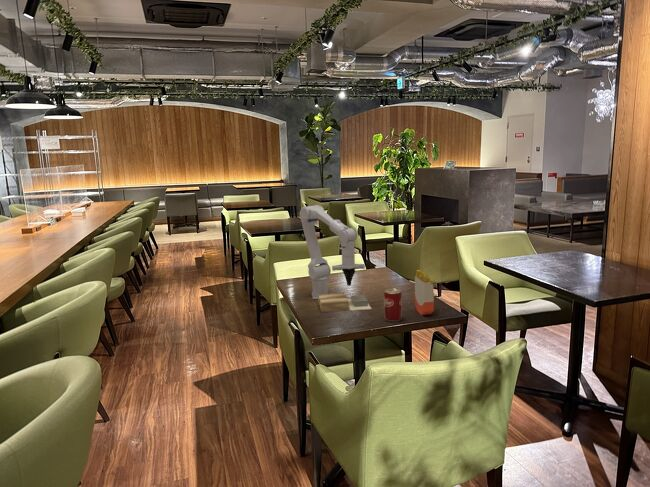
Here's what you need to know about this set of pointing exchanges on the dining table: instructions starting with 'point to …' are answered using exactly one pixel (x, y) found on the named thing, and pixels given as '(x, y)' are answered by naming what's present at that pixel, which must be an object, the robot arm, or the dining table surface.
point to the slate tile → (359, 300)
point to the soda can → (392, 305)
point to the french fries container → (424, 293)
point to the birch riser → (333, 302)
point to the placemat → (353, 308)
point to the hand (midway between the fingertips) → (348, 285)
